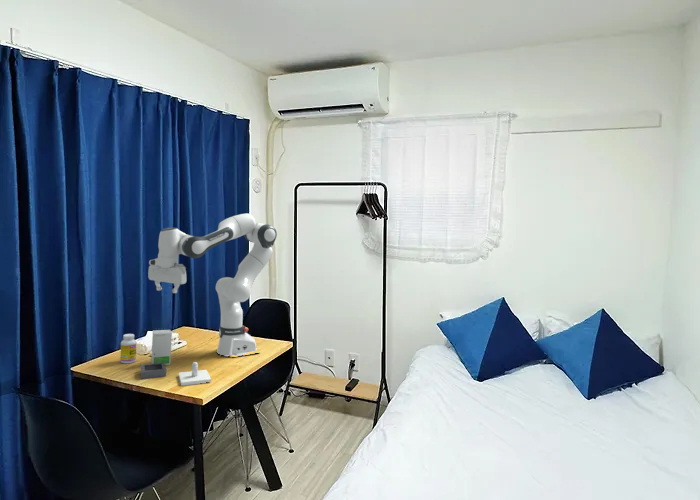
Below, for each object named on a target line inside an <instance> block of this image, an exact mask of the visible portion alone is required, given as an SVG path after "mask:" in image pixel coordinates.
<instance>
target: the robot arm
mask: <svg viewBox="0 0 700 500" xmlns="http://www.w3.org/2000/svg"><path fill="white" fill-rule="evenodd" d="M277 235H278V232H277V230H276V228H275V227H274V226H273V225H271V224H267V223H262V222H260V223H259V222H256V219H255V217H254V216H253V215H252V214H250V213H240V214H237V215H233V216H230V217H228V218H227V217H226V218H225V219H223V220H222V221H220V222H219V223H218V227H217V230H216V231H214V232H211V233H209V234H207V235H204V236H194V235H190V234H186V233H185V232H183V231H181V230H180V229H178V227H165V228H163V229H161V230H160V232H159V236H158V243H157V244H158V247H157V248H158V254H157V257H156V258H154V259H150V260H149V261H148V264H149V266H148V272H147V274H148V276H147V278H148V280H150V281H154V284H155V286H156V291H158V292H160V291H162V290H163V288H162V287H163V286H162V285H161V284H160V283H163V282H164V283H169V284H173V286H174V288H172V289H171V293H172V294H177V293H178V289H179V288H180V286H181V285H184V284H186V283H187V270H186V269H187V267H186V266H185V265H184V264H183V263H179V255H183V256H186V257H189V258H191V259H199V258H201V257H202V256H204V255H205V254H206V253H208V251H209V250H211V249H212V248H214V247H217V246H219V245H220V244H223V243H225V242H228V241H231V240H236V239H238V238H241V237H242V236H244V238H245V239H246V240H247V241H249V242H250V243H253V247H252V248H251V250H250V251H249V252H248V253H247V255H246V256H245V257H244V258H243V259H242V261H241V262H240V263H239V264H238V268H237V272H236V274H235V276H234V277H228V276H225V277H221V278H219V279H218V280H217V281H216V284H215V291H216V292H217V296H218V303H219V308H220V325H219V328H218V330H219V331H218V335H219V341H218V346H217V349H216V352H217V353H218V354H220V355H219V356H221V355H229V356H239V355H244V354H246V353H248V352H252V351H256V350H257V348H256V346H257V342H256V339H255V338H254V337H252V336H251V334H249V333H248V331H249V328H248V327H246V326H245V325H243V319H244V318H243V316H244V315H243V314H244V311H243V309H242V307H241V303H244V302H246V301H248V300H249V298H250V297H251V294H252V291H251V290H252V288H253V287H252V286H253V285H254V282H255V280H256V278H257V277H258V276H259V274H260V273H261V272H262V271H263V270H264V268H265V267H266V266H267V264H268V262H269V261H270V259H271V257H272V255H273V248H272V247H273V246H274V244H275V241H276V240H277V237H278V236H277ZM217 353H216V354H217ZM218 354H217V355H218Z"/></svg>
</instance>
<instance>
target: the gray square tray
mask: <svg viewBox="0 0 700 500" xmlns="http://www.w3.org/2000/svg"><path fill="white" fill-rule="evenodd" d="M166 366H167V365H165V362H164V363H153V364H152V363H144V364H140V379H141V380H144V379H145V380H146V379H155V378H163V377H165V378H166V377H167V367H166Z"/></svg>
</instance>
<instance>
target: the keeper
mask: <svg viewBox="0 0 700 500" xmlns="http://www.w3.org/2000/svg"><path fill="white" fill-rule="evenodd" d="M178 379H179V383H180V385H181V386H182V387H184V386H191V385H193V386H194V385H200V383H202V384H207V383H206V382H211V383H212V378H211V376H210V373H209V372H208V369H200V370H199V364H198V362H197V361H193V362H192V364H191V371H181V372H178Z"/></svg>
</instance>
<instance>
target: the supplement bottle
mask: <svg viewBox="0 0 700 500" xmlns="http://www.w3.org/2000/svg"><path fill="white" fill-rule="evenodd" d="M119 357H120V362H121V364H132V363H135V362H136V360H137V340H136V339H135V334H134V333H125V334H123V337H122V340H121V342H120V356H119Z"/></svg>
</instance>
